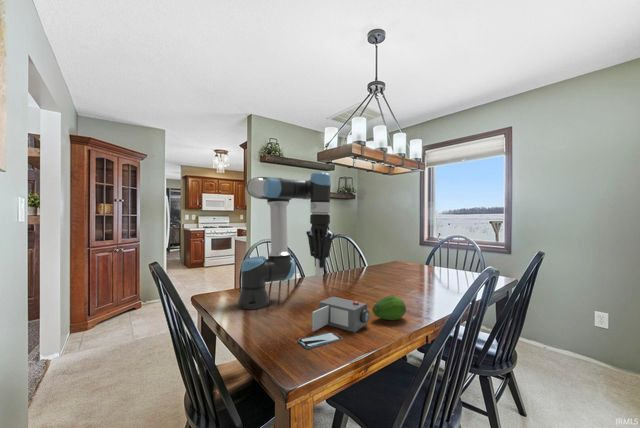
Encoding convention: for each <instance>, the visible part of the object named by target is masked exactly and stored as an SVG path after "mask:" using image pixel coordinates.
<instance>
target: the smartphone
mask: <svg viewBox="0 0 640 428" xmlns="http://www.w3.org/2000/svg"><path fill="white" fill-rule="evenodd" d="M340 341H343V337H341V336H340V335H339V334H337V333H335V332H334V331H329V332H324V333H320V334H316V335H312V336H307V337H302V338H298V339H297V342H298V343H299V345H301V346H302V347H303V348H304V349H306V350H311V349H315V348H319V347H322V346H326V345H330V344H334V343H336V342H340Z"/></svg>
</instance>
